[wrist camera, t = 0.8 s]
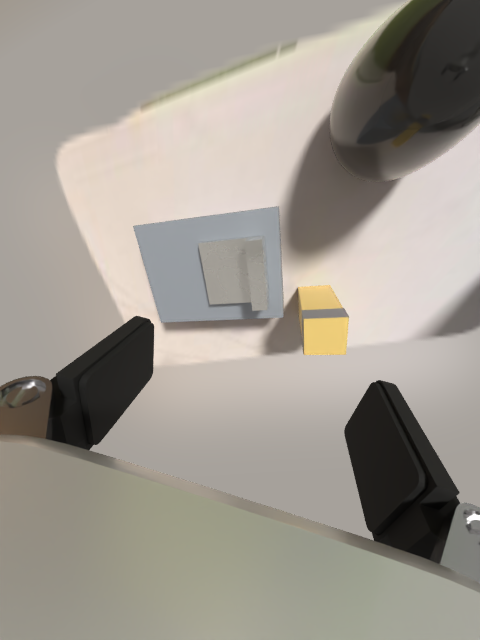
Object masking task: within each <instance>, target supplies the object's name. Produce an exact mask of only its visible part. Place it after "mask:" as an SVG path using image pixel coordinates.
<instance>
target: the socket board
mask: <svg viewBox="0 0 480 640" xmlns="http://www.w3.org/2000/svg"><path fill="white" fill-rule="evenodd" d="M133 228H134V231H135V235H136V238H137V241H138V245H139V248H140V252H141V255H142V259H143V262H144V266H145V269H146V272H147V276H148V279H149V283H150V286H151V290H152V293H153V297H154V300H155V303H156V307H157V310H158V314H159V317H160V321H161V322H185V321H210V320H234V319H259V318H283V306H284V302H283V281H282V260H281V239H280V219H279V206H278V207H271V208H263V209H256V210H248V211H241V212H233V213H226V214H218V215H211V216H203V217H196V218H188V219H181V220H174V221H166V222H159V223H151V224H144V225H137V226H133ZM263 235H265V247H266V261H267V274H268V288H269V304H268V310H259V311H252V304H251V302H247V303H229V304H211V305H210V303H209V298H208V293H207V287H206V282H205V277H204V272H203V266H202V261H201V256H200V250H199V245H198V243H200V242H209V241H218V240H227V239H236V238H245V237H254V236H263Z"/></svg>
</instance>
